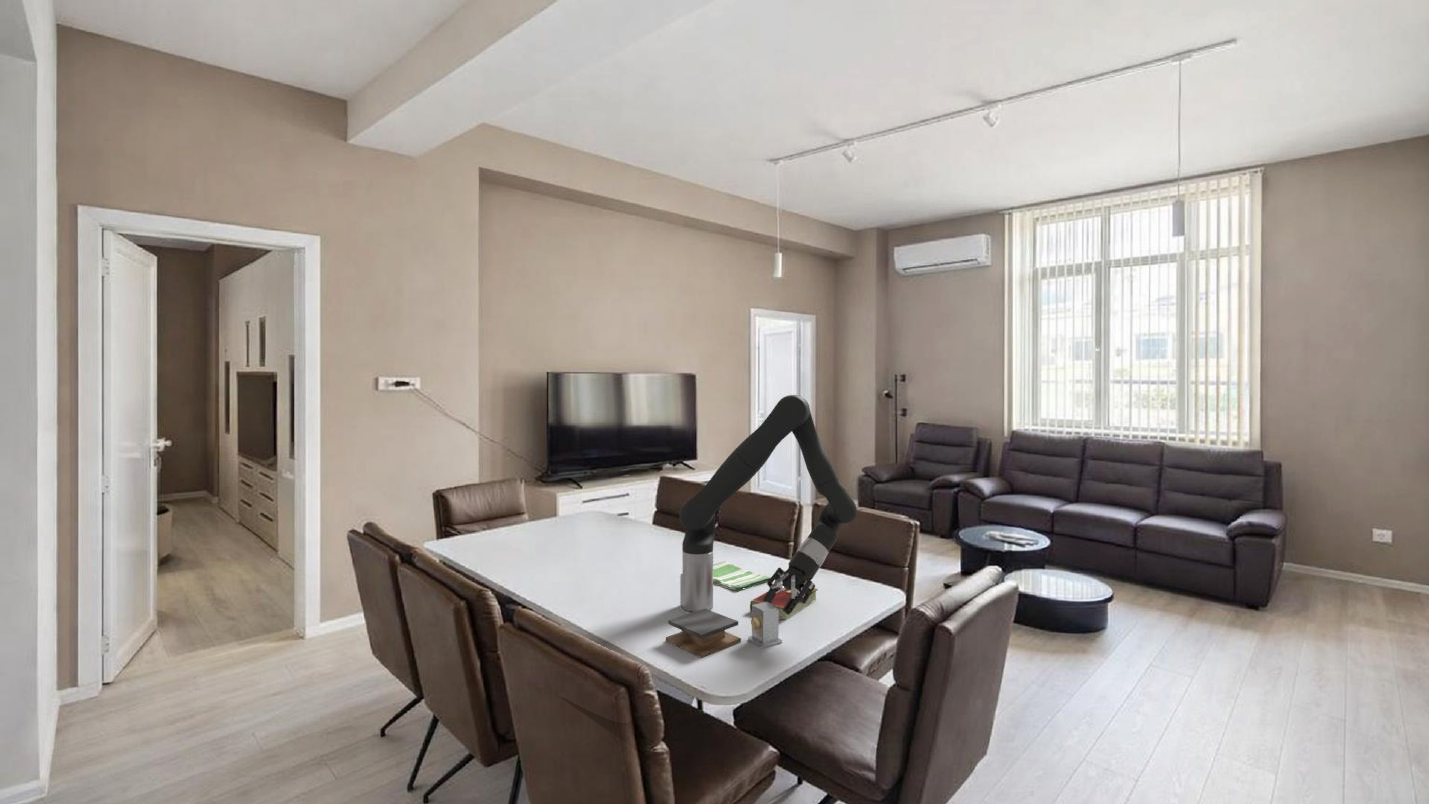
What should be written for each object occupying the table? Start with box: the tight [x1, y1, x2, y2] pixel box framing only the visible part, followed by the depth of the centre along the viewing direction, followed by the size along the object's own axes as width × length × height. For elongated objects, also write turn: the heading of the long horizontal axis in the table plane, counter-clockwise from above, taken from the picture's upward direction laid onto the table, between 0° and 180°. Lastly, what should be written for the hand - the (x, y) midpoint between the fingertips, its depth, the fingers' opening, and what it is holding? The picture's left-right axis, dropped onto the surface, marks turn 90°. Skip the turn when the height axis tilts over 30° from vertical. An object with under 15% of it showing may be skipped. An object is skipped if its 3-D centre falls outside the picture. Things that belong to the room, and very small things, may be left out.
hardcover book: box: [749, 583, 818, 621], centre depth 200 cm, size 12×21×4 cm, turn 146°
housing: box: [747, 602, 783, 649], centre depth 174 cm, size 6×7×9 cm
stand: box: [665, 608, 742, 658], centre depth 174 cm, size 14×14×6 cm
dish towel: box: [713, 560, 772, 592], centre depth 227 cm, size 18×23×3 cm
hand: (775, 607), depth 175 cm, fingers open, 8 cm apart
